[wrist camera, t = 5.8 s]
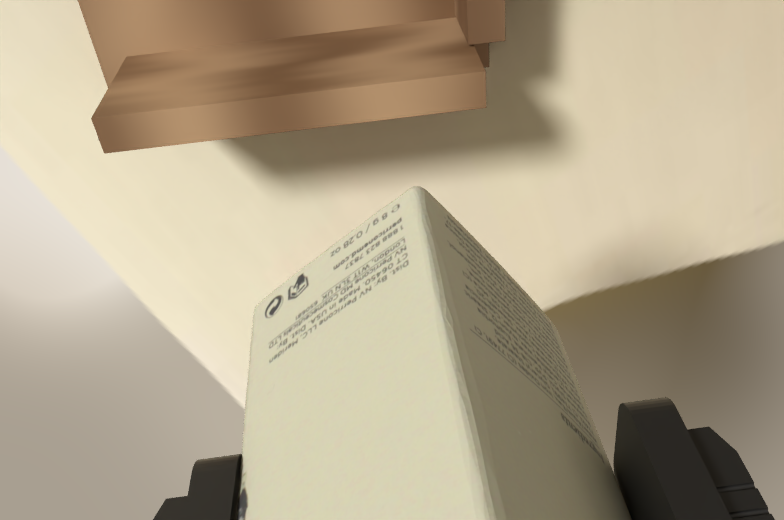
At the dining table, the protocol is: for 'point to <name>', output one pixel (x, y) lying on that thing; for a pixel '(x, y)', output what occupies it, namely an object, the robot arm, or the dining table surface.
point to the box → (415, 388)
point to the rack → (282, 64)
